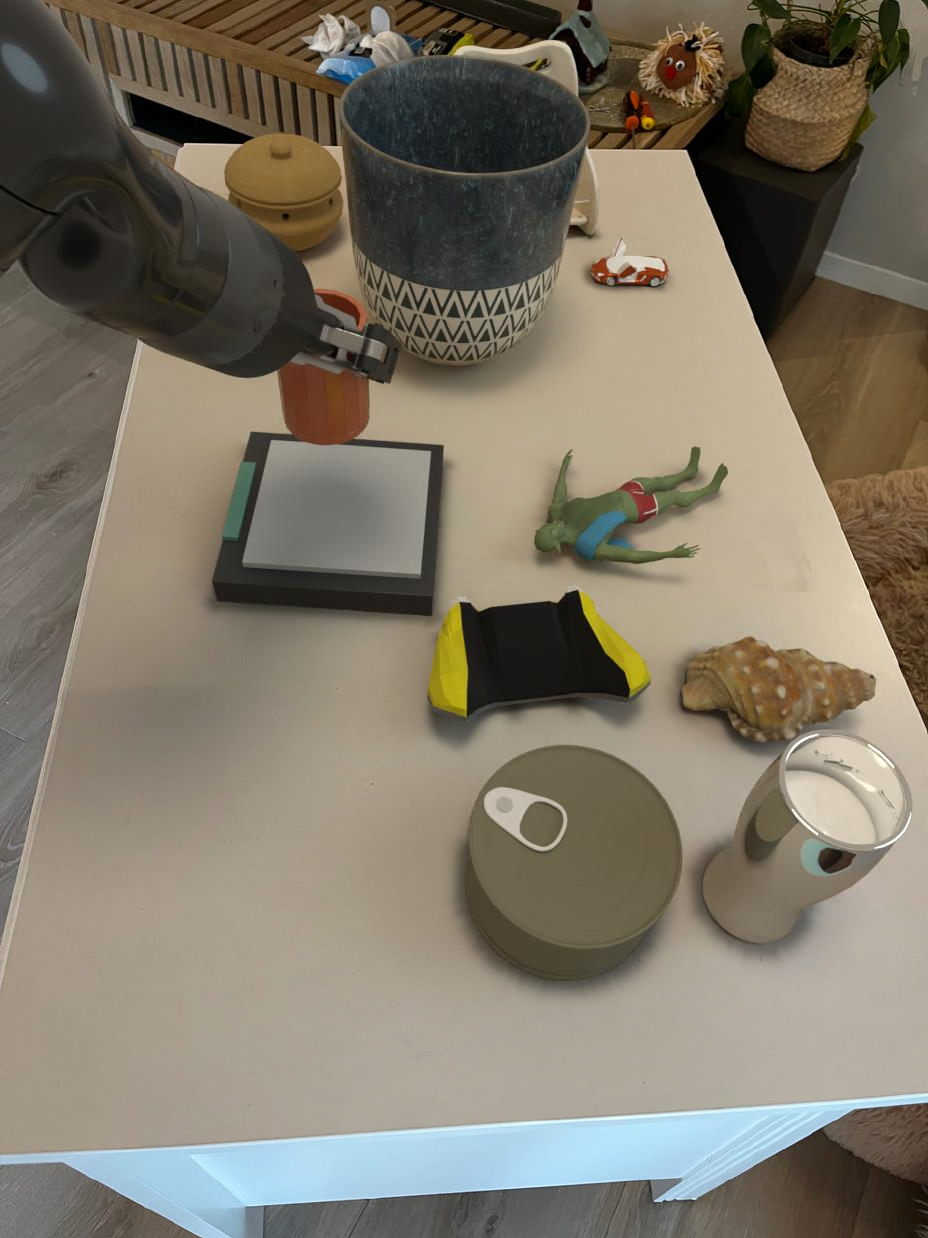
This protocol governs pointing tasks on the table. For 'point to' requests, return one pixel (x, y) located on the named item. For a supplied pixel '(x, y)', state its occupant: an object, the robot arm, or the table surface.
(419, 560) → the scale
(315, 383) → the cup
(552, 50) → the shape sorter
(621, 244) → the toy car
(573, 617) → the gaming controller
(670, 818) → the can
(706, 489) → the figurine
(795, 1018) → the table surface
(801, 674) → the seashell
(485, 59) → the planter
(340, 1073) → the table surface
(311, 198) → the pot
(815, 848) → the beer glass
